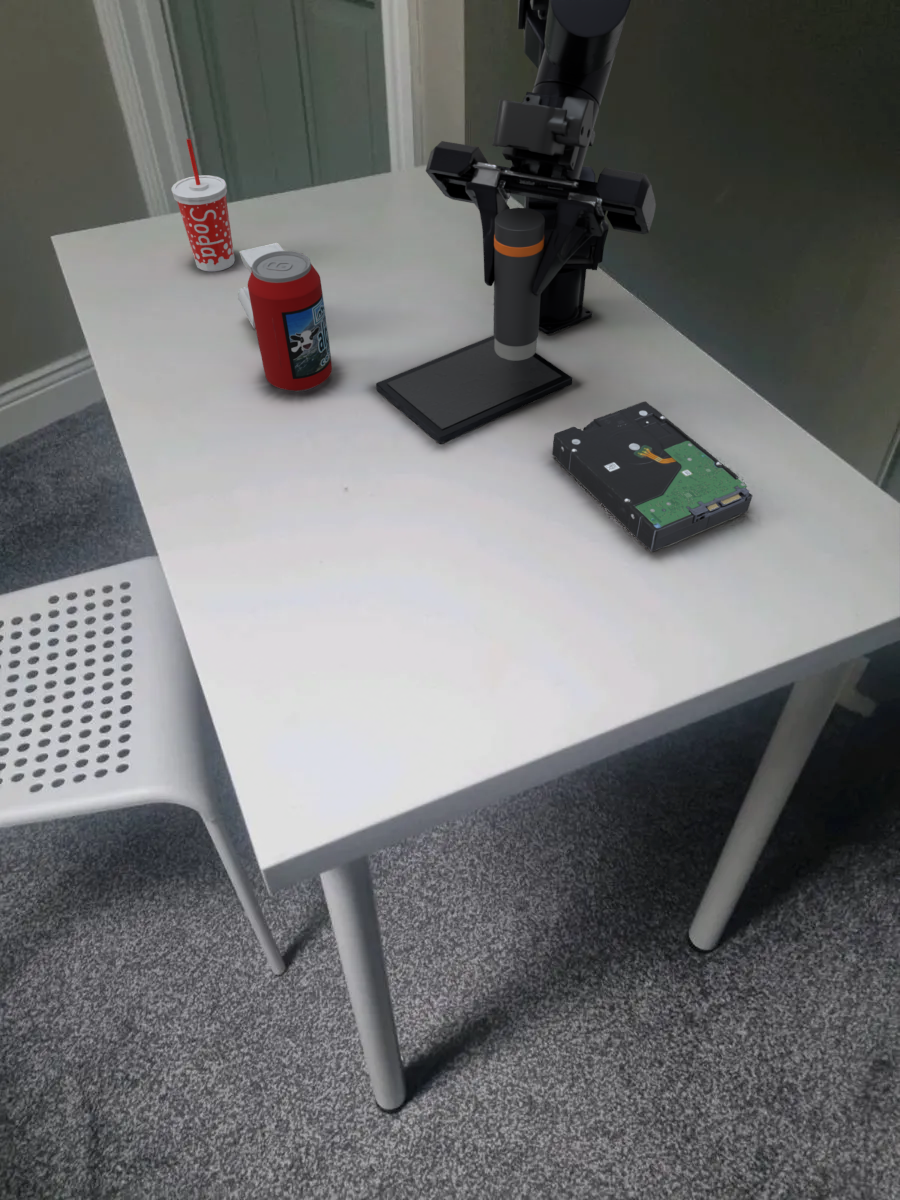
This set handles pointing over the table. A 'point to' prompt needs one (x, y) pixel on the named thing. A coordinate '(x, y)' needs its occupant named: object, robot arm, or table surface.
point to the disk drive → (651, 475)
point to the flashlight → (517, 282)
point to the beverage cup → (205, 218)
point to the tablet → (470, 388)
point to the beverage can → (290, 320)
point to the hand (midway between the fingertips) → (511, 289)
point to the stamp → (248, 260)
